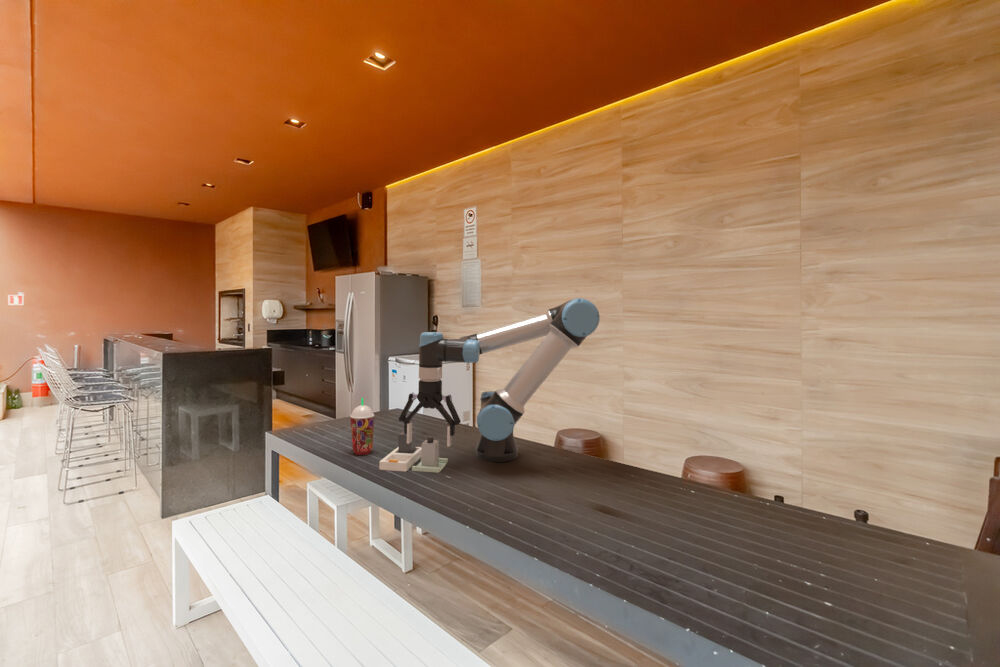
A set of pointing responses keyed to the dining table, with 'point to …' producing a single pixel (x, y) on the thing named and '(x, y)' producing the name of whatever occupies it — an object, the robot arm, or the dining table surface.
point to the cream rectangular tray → (402, 455)
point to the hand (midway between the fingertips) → (429, 444)
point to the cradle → (431, 469)
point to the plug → (430, 452)
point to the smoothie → (362, 429)
